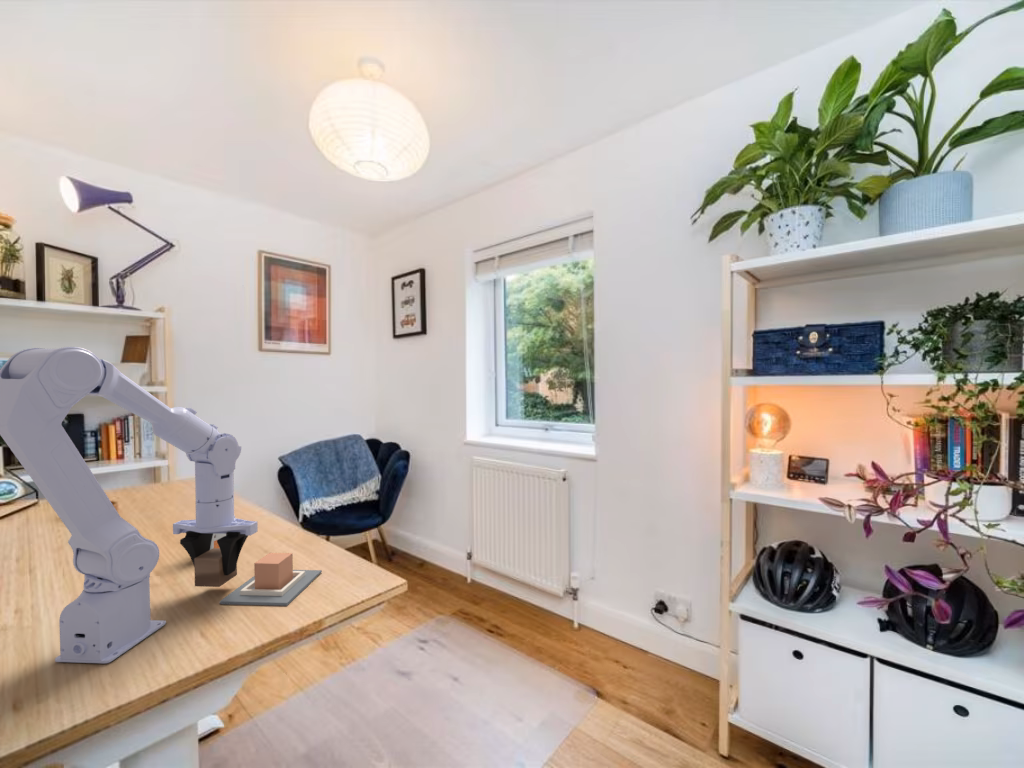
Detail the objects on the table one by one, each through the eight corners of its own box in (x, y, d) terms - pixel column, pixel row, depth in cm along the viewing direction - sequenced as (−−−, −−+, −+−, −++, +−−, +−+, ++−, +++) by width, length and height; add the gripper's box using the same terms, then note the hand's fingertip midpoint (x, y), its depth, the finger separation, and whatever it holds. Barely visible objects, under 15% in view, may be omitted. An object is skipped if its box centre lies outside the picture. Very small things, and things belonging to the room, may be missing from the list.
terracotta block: (278, 591, 77) (278, 563, 77) (254, 590, 77) (254, 563, 77) (292, 578, 81) (292, 553, 81) (270, 578, 82) (269, 552, 81)
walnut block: (219, 586, 75) (218, 558, 75) (194, 586, 75) (194, 558, 75) (237, 574, 80) (236, 548, 80) (213, 574, 80) (213, 548, 80)
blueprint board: (287, 605, 73) (287, 598, 73) (219, 604, 73) (219, 596, 73) (321, 572, 85) (321, 566, 85) (263, 571, 85) (263, 565, 85)
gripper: (267, 492, 81) (268, 563, 81) (194, 491, 81) (195, 561, 82) (242, 504, 74) (243, 581, 74) (162, 503, 74) (163, 579, 75)
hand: (216, 572), depth 77 cm, fingers closed on walnut block, 4 cm apart
